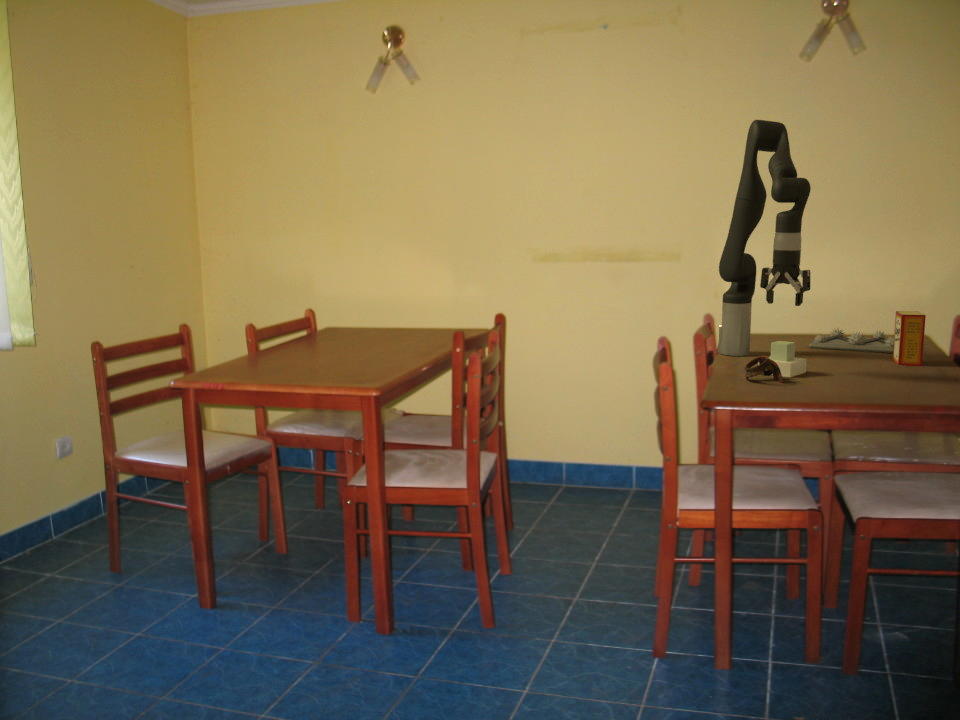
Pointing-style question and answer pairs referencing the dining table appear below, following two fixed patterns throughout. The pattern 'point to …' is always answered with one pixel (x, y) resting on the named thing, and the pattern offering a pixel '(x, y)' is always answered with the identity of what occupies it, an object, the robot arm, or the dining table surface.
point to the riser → (791, 367)
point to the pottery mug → (763, 368)
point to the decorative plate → (854, 342)
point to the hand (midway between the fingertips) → (783, 304)
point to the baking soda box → (909, 338)
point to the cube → (782, 351)
